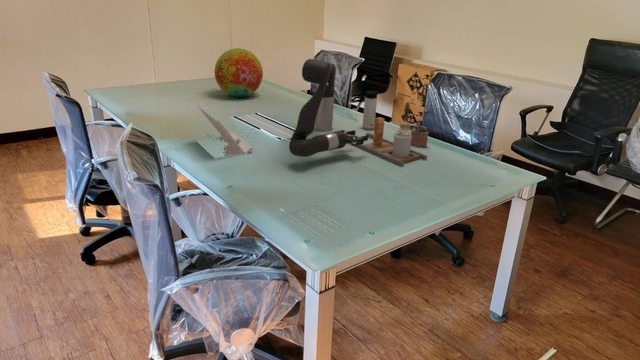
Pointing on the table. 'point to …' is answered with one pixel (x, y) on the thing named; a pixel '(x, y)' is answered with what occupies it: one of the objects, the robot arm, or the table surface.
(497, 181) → the table surface
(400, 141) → the can
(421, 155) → the rail
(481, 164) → the table surface
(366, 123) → the travel mug
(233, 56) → the globe
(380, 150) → the brown post on base
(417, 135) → the lighter
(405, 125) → the hand bell
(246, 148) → the tablet stand
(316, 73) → the robot arm
